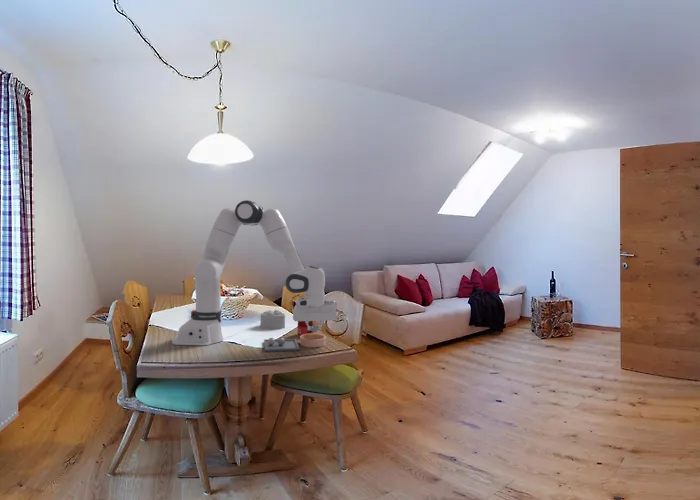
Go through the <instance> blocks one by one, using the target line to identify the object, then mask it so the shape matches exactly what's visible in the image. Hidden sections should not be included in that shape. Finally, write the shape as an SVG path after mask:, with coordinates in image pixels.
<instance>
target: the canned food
mask: <svg viewBox="0 0 700 500" xmlns="http://www.w3.org/2000/svg"><path fill="white" fill-rule="evenodd" d="M308 325H309V326H312V325H314V321H309V323H308ZM310 333H314V332H312V331H311V330H308V326H307V324H306V323H305V321H297V336H299V337H300V336H301V335H303V334H310Z"/></svg>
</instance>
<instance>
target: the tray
mask: <svg viewBox="0 0 700 500" xmlns="http://www.w3.org/2000/svg"><path fill="white" fill-rule="evenodd" d="M268 339H269V338H268ZM268 339H263V346H264V352H265V353H269V352H270V353H272V352H273V353H274V352H278V353H279V352H300V346H299V344H298V343H299V342H298V341H297V338H284V339H285V343H284V344H283V345H279V344H278V339H279V338H276V339H275V338H274V340H275V343H274V345H269V344H268Z"/></svg>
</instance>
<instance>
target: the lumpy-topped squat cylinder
mask: <svg viewBox="0 0 700 500" xmlns="http://www.w3.org/2000/svg"><path fill="white" fill-rule="evenodd" d="M259 325H260V328H261V327H262V329H266V328H269V330H280V329H281V330H283V329H285V328H286V314H285V313H284V312H282V311H280V310H278V309H274V310H270V309H269V310H265V311H263V313H260V323H259ZM282 328H283V329H282Z"/></svg>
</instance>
